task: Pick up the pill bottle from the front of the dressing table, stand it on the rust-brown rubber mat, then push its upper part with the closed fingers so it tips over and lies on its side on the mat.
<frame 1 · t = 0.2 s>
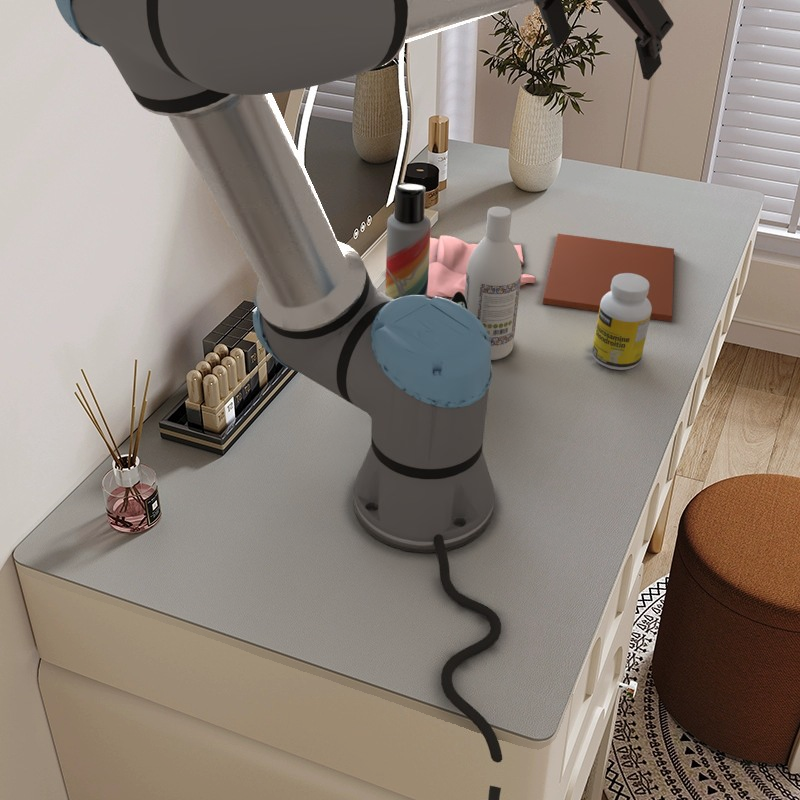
hand: (606, 55, 127), 35 cm above the table, tool tilted 35°, fingers open, 13 cm apart
pill bottle: (615, 359, 136), on the table
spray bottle: (405, 320, 142), on the table
mat: (610, 277, 153), on the table
figurine: (418, 387, 130), on the table
bath foam: (486, 348, 137), on the table
cloth: (467, 269, 154), on the table
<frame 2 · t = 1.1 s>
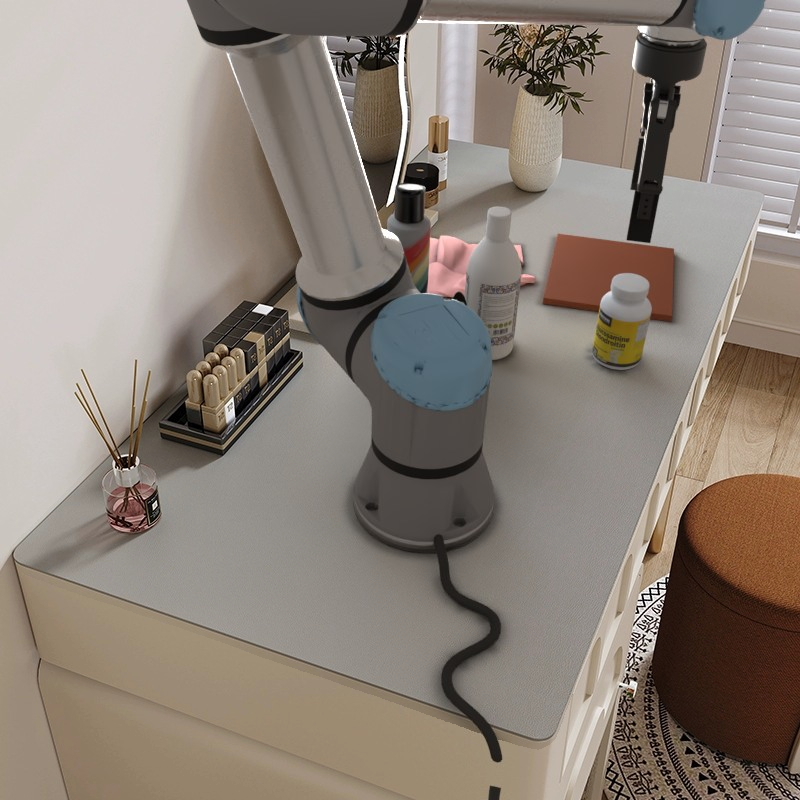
hand: (639, 214, 123), 21 cm above the table, tool pointing down, fingers open, 13 cm apart
nothing on the table moved.
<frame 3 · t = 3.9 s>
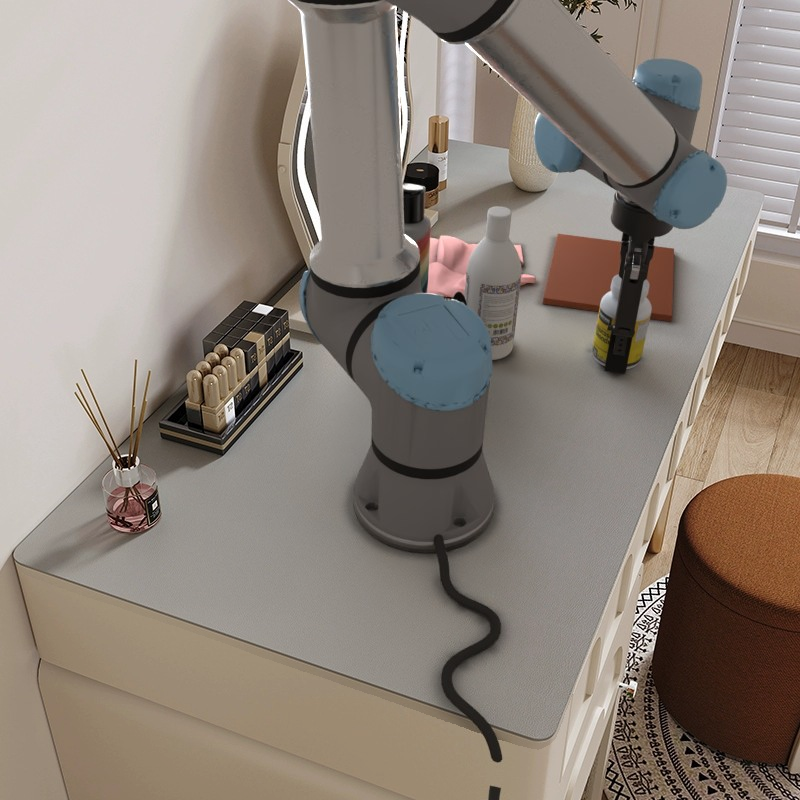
hand: (616, 355, 136), 0 cm above the table, tool pointing down, fingers closed on pill bottle, 6 cm apart
pill bottle: (615, 359, 136), on the table, touching gripper
everything else where it was.
when the fingers open (1 cm above the table, at t = 11.1 s): pill bottle stays where it is, resting on mat.
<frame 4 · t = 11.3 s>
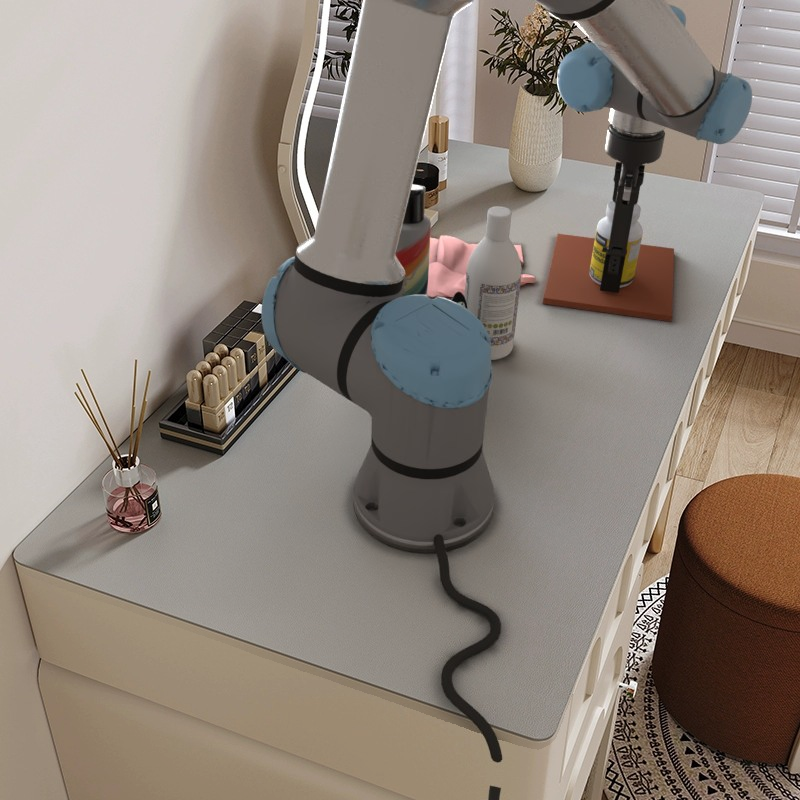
hand: (611, 275, 150), 1 cm above the table, tool pointing down, fingers open, 8 cm apart
pill bottle: (610, 279, 151), point 1 cm above the table, touching mat
everything else where it was.
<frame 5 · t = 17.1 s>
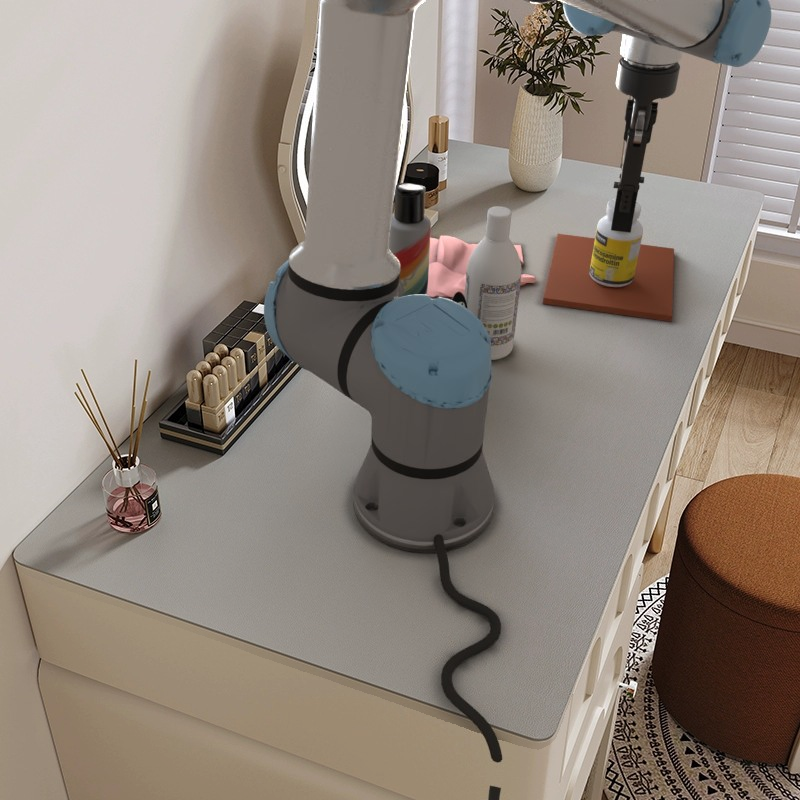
hand: (621, 228, 142), 11 cm above the table, tool pointing down, fingers closed
pill bottle: (610, 279, 150), point 1 cm above the table, touching gripper, mat
everything else where it was.
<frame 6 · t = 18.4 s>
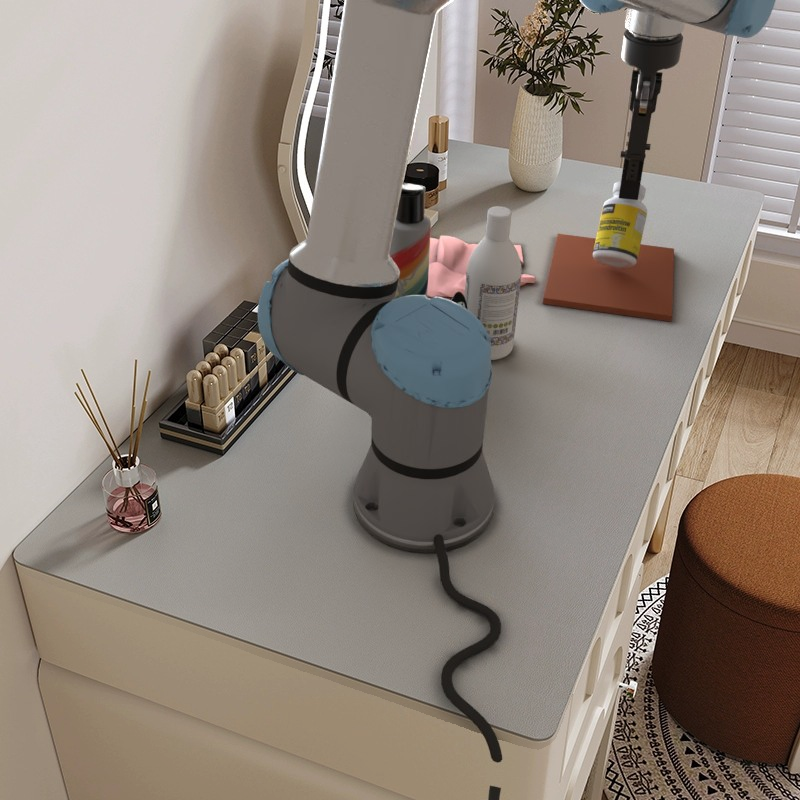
hand: (628, 195, 147), 12 cm above the table, tool pointing down, fingers closed
pill bottle: (613, 263, 150), point 3 cm above the table, touching gripper, mat
everything else where it was.
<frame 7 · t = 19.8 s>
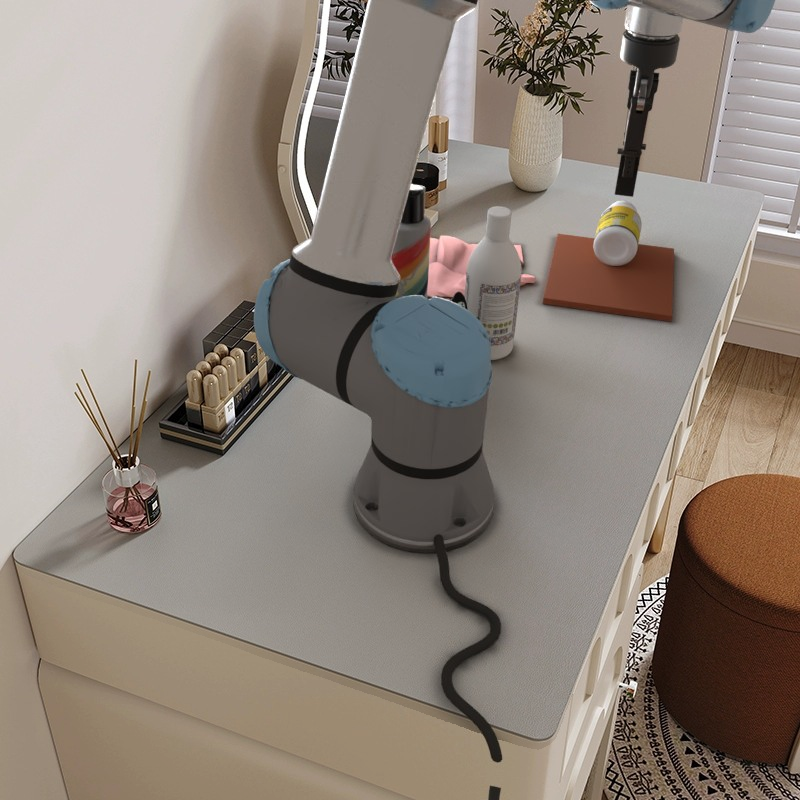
hand: (624, 193, 152), 10 cm above the table, tool pointing down, fingers closed
pill bottle: (615, 249, 151), point 4 cm above the table, touching mat
everything else where it was.
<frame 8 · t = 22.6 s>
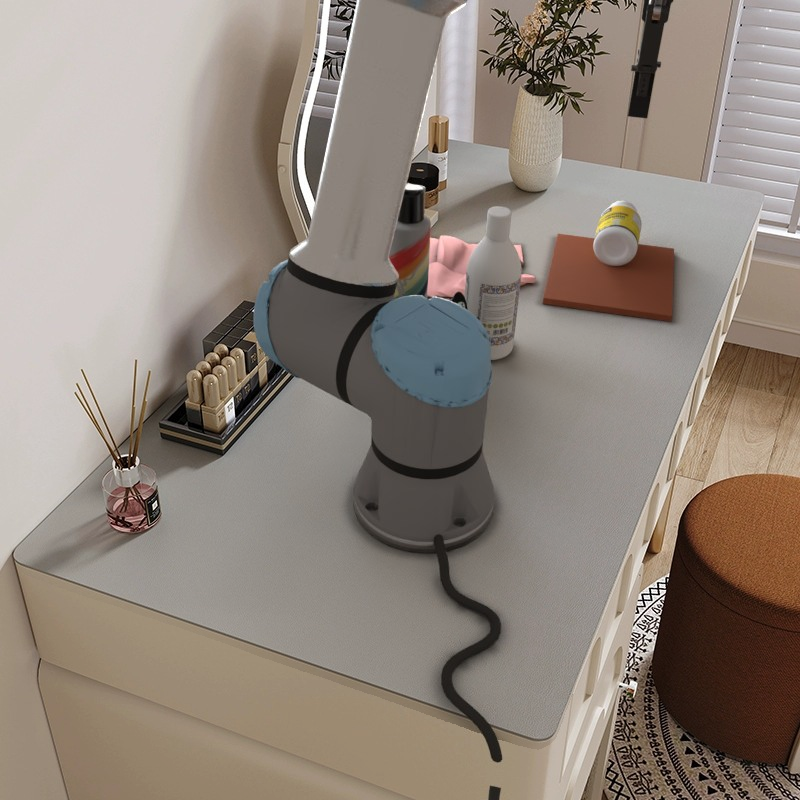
hand: (637, 115, 144), 22 cm above the table, tool pointing down, fingers closed
nothing on the table moved.
at the end: pill bottle tilted 90°; pill bottle inside the target area on the mat (1.5 cm from its centre), point 4.3 cm above the mat's base; the gripper is holding nothing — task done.
